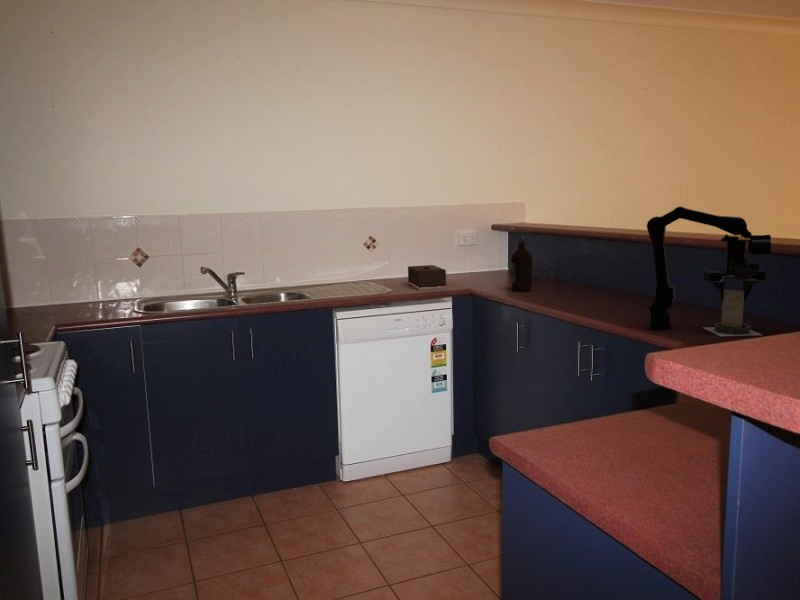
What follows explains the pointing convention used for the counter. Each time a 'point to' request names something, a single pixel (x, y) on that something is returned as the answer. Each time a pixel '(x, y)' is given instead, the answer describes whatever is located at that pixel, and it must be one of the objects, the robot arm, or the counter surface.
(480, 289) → the counter surface
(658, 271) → the robot arm
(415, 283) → the tissue box cover
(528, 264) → the olive oil
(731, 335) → the grey base plate
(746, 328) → the dark grey ring
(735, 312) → the skincare box
